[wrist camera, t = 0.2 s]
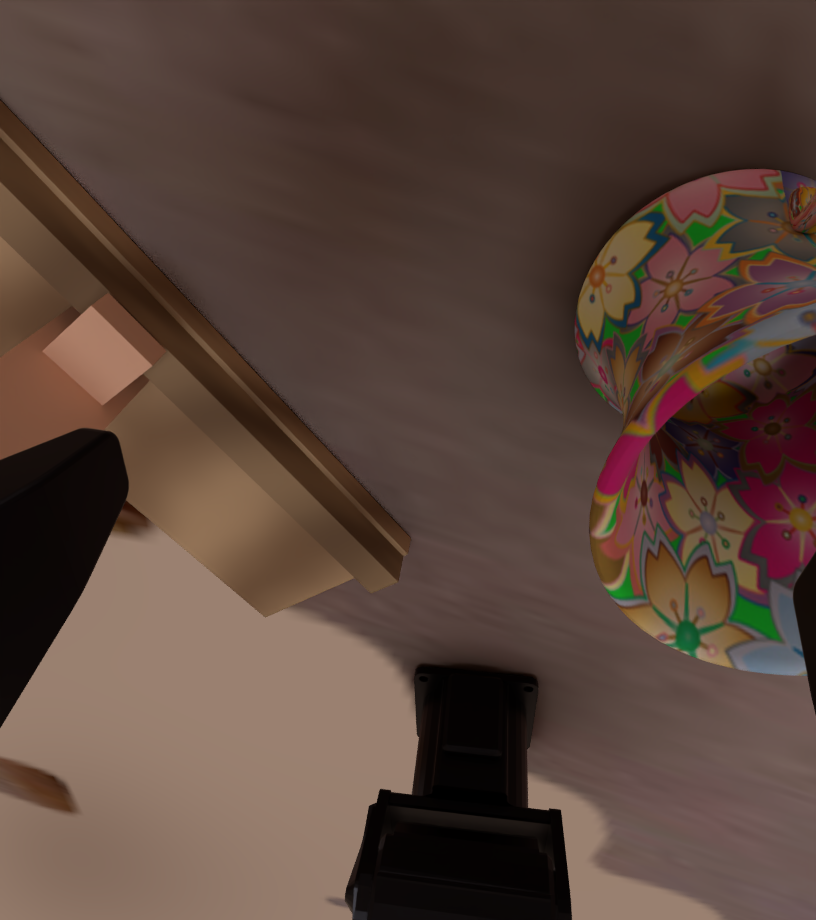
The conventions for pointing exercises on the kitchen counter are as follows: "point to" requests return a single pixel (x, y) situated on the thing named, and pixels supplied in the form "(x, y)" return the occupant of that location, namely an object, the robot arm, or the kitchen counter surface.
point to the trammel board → (189, 405)
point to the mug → (709, 414)
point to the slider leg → (73, 374)
